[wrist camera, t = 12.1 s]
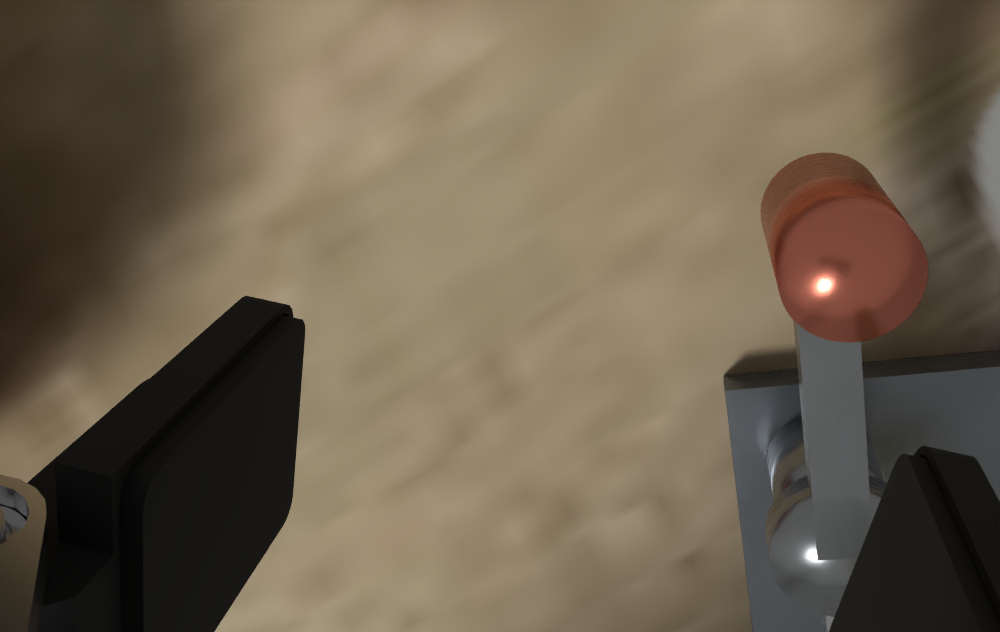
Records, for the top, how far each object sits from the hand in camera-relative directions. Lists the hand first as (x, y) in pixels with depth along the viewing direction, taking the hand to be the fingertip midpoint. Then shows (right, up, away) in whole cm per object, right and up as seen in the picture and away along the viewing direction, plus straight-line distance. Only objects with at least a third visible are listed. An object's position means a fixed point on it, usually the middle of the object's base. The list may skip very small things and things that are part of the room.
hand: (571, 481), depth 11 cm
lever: (+9, 0, +16) cm, 19 cm away
